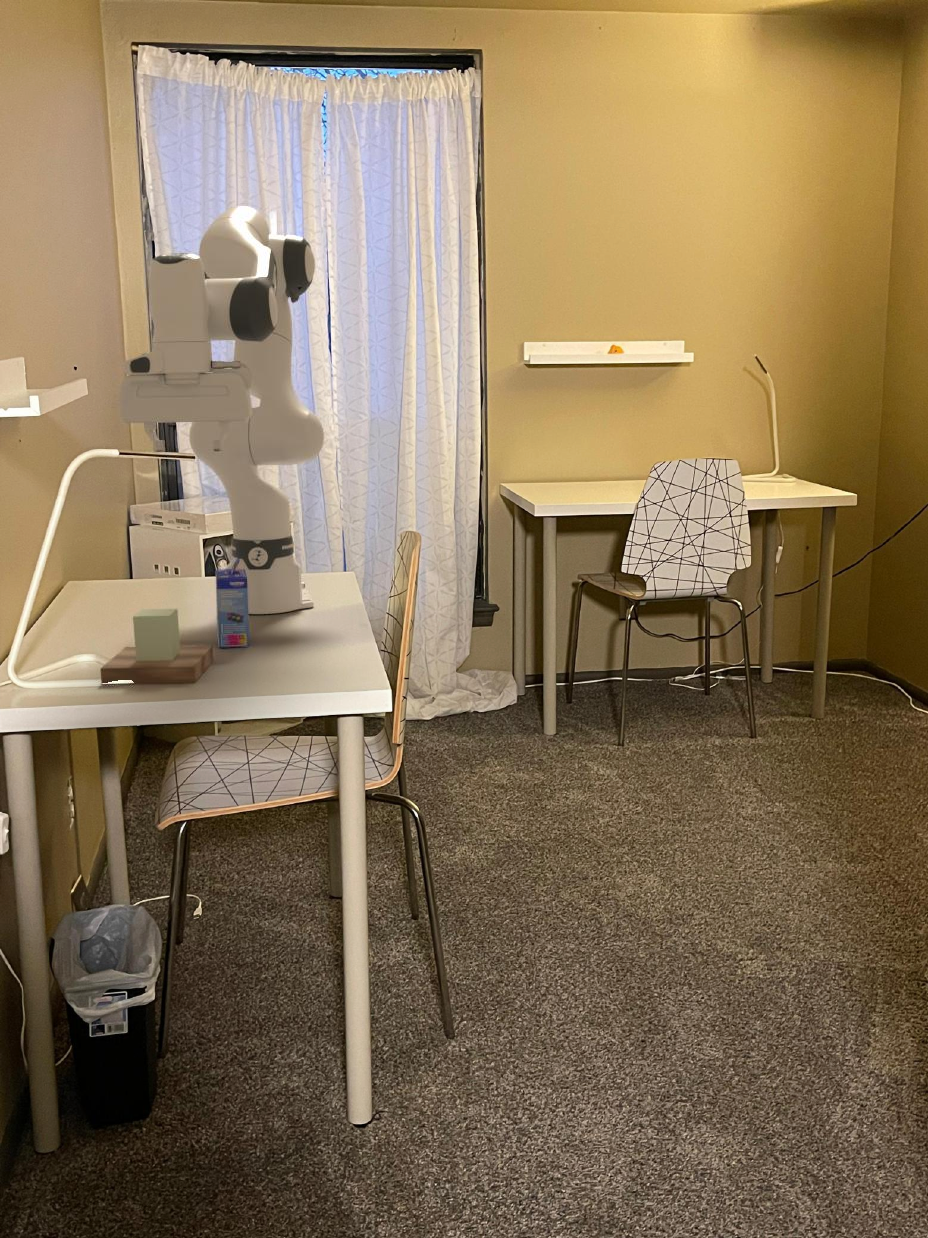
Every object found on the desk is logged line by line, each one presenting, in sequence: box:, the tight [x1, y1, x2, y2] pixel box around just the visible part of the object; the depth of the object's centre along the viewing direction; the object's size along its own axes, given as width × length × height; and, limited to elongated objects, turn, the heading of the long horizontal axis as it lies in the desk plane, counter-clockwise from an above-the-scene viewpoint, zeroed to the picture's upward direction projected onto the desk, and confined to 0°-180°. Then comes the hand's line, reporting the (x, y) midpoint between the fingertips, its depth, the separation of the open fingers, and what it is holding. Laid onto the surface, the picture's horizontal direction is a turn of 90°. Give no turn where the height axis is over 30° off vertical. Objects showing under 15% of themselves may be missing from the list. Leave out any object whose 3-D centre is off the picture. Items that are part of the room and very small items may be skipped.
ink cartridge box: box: [214, 557, 250, 649], centre depth 199 cm, size 10×6×14 cm, turn 13°
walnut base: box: [99, 644, 214, 685], centre depth 181 cm, size 14×14×2 cm
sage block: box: [132, 608, 181, 661], centre depth 180 cm, size 6×6×7 cm
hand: (189, 451), depth 183 cm, fingers open, 8 cm apart
